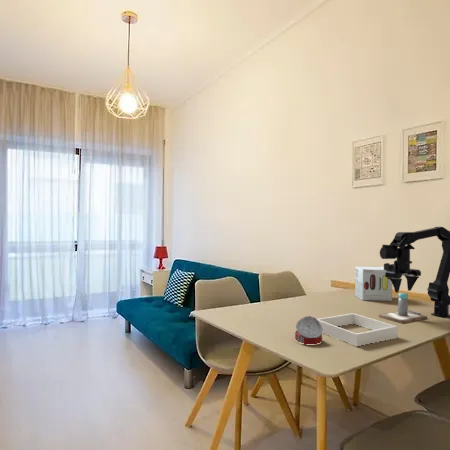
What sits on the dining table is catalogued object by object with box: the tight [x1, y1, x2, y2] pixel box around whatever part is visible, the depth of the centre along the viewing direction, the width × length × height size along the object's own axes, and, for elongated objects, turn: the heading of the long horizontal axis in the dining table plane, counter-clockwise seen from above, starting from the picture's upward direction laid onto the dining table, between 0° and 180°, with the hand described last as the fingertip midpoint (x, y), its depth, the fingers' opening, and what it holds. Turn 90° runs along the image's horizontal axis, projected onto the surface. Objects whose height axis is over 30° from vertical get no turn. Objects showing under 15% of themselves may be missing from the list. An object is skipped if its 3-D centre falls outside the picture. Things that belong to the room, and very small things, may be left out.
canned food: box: [294, 315, 323, 344], centre depth 133 cm, size 11×10×10 cm
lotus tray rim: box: [316, 312, 399, 347], centre depth 141 cm, size 22×22×4 cm
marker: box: [397, 292, 409, 316], centre depth 165 cm, size 4×4×10 cm
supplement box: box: [354, 265, 393, 302], centre depth 206 cm, size 17×13×18 cm
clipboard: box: [378, 309, 428, 324], centre depth 165 cm, size 18×12×2 cm, turn 117°
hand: (403, 291), depth 167 cm, fingers open, 9 cm apart
